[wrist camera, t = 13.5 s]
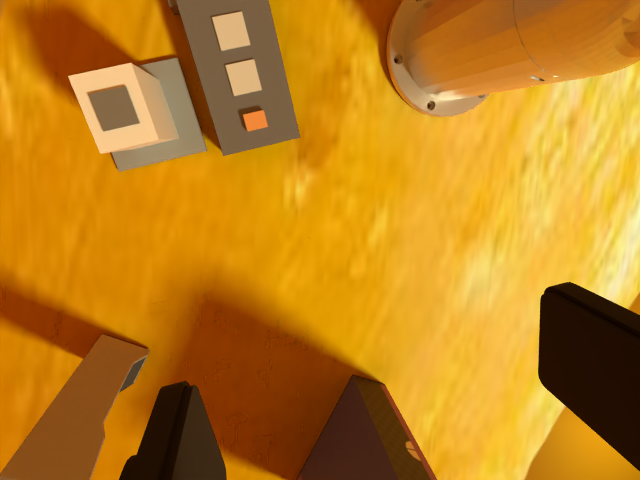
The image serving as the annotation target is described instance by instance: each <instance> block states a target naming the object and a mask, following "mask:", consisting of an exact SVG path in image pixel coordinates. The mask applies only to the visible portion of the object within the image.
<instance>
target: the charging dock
mask: <svg viewBox="0 0 640 480" xmlns="http://www.w3.org/2000/svg"><path fill="white" fill-rule="evenodd" d="M168 3H169V6H170V8H171V10H172V12H173V13H174V15H175V14H180V15H181V18H182V22H183V25H184V28H185V32H186V35H187V38H188V41H189V45H190V48H191V51H192V55H193V58H194V61H195V64H196V68H197V71H198V74H199V78H200V81H201V84H202V87H203V91H204V94H205V97H206V101H207V104H208V107H209V110H210V114H211V117H212V120H213V124H214V127H215V130H216V133H217V137H218V140H219V143H220V146H221V150H222V153H223V156H225V155H229V154H233V153H238V152H242V151H246V150H250V149H254V148H258V147H262V146H266V145H271V144H275V143H279V142H283V141H287V140H291V139H295V138H300V134H299V130H298V125H297V121H296V117H295V113H294V108H293V104H292V100H291V95H290V91H289V87H288V82H287V78H286V74H285V70H284V65H283V61H282V57H281V52H280V48H279V44H278V39H277V35H276V31H275V27H274V22H273V18H272V14H271V9H270V5H269V1H268V0H168Z"/></svg>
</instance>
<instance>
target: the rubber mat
mask: <svg viewBox="0 0 640 480" xmlns="http://www.w3.org/2000/svg"><path fill="white" fill-rule="evenodd" d="M137 67H139V68H140V69H142V70H144V71H145V72H147V73H149V74H150V75H152V76H153V77H155V78H157V79H158V80H159V81H160V84H161V87H162V90H163V93H164V96H165V98H166V101H167V104H168V107H169V110H170V113H171V116H172V119H173V122H174V125H175V127H176V130H177V133H178V136H179V139H175V140H170V141H166V142H162V143H158V144H154V145H150V146H145V147H141V148H137V149H131V150H124V151H116V152H111V153H112V155H113V158H114V160H115V163H116V165H117V168H118V170H119V172H120V171H124V170H128V169H132V168H137V167H141V166H145V165H149V164H153V163H158V162H162V161H166V160H170V159H174V158H179V157H183V156H187V155H191V154H195V153H199V152H204V151H207V148H206V145H205V141H204V138H203V135H202V132H201V129H200V126H199V122H198V119H197V116H196V113H195V110H194V107H193V104H192V100H191V97H190V94H189V91H188V88H187V85H186V81H185V78H184V75H183V72H182V69H181V66H180V63H179V59H178V58H173V59H168V60H163V61H158V62H154V63H149V64H144V65H139V66H137Z"/></svg>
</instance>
